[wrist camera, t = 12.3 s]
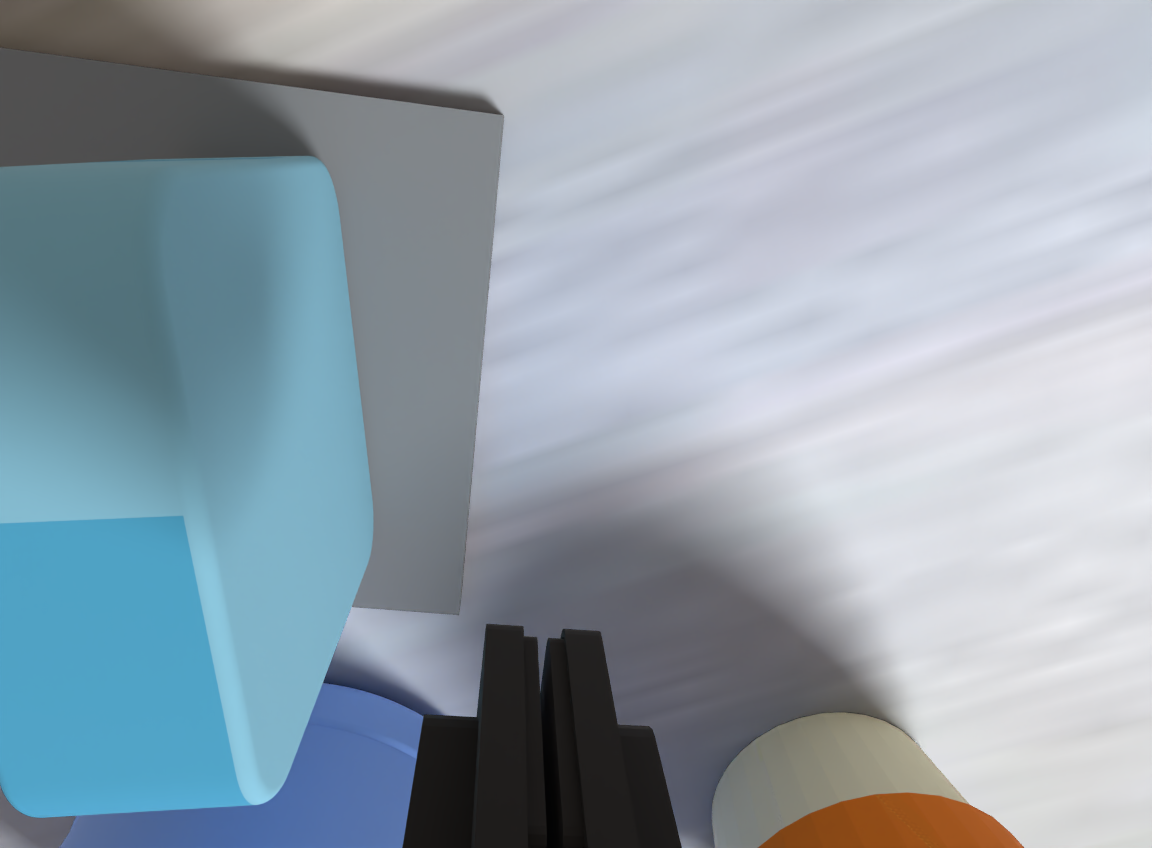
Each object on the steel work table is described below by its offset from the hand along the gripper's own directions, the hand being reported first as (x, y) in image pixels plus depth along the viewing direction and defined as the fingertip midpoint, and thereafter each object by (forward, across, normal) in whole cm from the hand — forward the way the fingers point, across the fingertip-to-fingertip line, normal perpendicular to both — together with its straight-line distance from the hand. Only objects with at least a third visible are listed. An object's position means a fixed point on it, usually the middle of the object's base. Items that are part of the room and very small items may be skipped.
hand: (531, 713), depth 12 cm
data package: (+14, +7, -1) cm, 16 cm away
